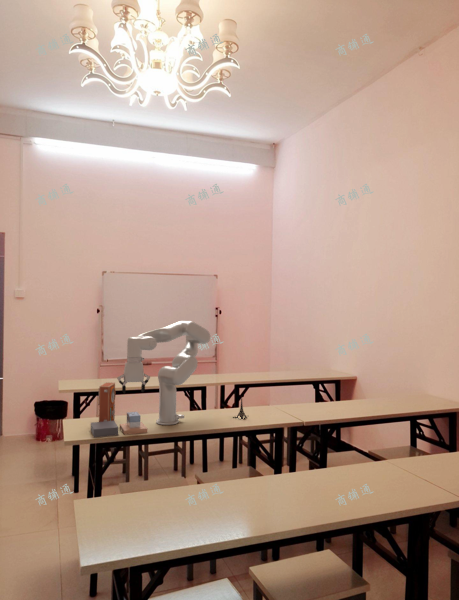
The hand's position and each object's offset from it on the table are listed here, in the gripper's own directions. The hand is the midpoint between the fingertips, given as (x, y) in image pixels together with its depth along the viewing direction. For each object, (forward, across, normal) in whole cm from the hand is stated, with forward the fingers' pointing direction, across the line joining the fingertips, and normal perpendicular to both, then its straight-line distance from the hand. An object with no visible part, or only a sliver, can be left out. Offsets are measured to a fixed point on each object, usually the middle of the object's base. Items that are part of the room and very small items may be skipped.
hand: (133, 392), depth 247 cm
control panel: (+20, +11, -20) cm, 30 cm away
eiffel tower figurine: (+20, -65, -5) cm, 69 cm away
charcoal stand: (+20, +15, 0) cm, 25 cm away
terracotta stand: (+20, 0, 0) cm, 20 cm away
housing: (+18, 0, 0) cm, 18 cm away
